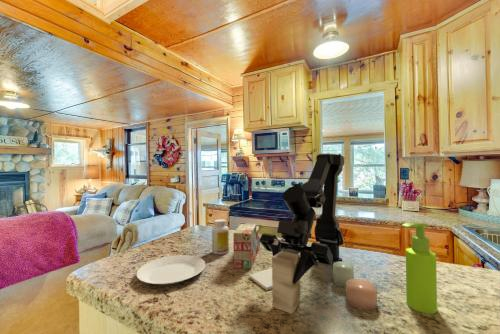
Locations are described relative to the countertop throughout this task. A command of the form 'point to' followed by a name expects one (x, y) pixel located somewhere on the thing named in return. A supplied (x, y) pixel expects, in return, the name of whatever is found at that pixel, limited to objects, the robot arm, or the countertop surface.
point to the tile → (263, 278)
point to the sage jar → (342, 273)
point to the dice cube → (288, 250)
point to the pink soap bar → (361, 294)
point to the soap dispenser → (421, 272)
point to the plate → (171, 269)
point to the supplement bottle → (220, 237)
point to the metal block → (285, 281)
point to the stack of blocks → (246, 245)
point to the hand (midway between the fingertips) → (283, 280)
